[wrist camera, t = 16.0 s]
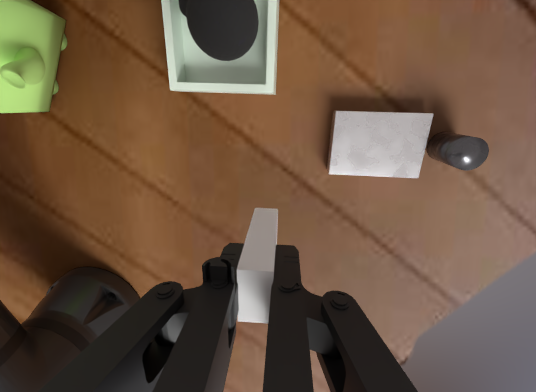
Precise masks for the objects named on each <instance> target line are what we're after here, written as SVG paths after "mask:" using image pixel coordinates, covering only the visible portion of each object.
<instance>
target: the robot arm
mask: <svg viewBox="0 0 536 392" xmlns="http://www.w3.org/2000/svg"><path fill="white" fill-rule="evenodd" d="M277 223H278V209H270V208H255V210H254V213H253V217H252V220H251V223H250V227H249V230H248V233H247V237H246V240H245V243H244V244H240V243H229V244H228V245H227V246H226V247H224V249H223V251H222V253H221V256H220V257H215V258H212V259H209V260H207V261H206V262H205V263H204V264H203V265H202V271H203V284H202V285H201V286H199V287H195V288H191V289H185V290H183V287H182V286H181V284H179V283H177V282H172V281H169V282H163V283H160V284H158V285H156V286H155V287H153V288H152V289H150V290H149V291H148V292H147V293H146V294H145V295H144V296H143V297H142V298H141V299H140V298H139V297H138V295H137V294H136V292H135V291H134V290H133V288H132V287H131V286H130V285H129V284H128V283H126V282H125V281H124V280H123V279H121V278H120V277H118V276H117V275H115V274H113V273H111V272H108V271H106V270H103V269H99V268H94V267H80V268H76V269H73V270H71V271H69V272H67V273H66V274H65V275H63V276H62V277H61V278H59V279H58V280H57V281H56V282H54V283H53V285H52V286H51V287H50V288H49V290H48V292H47V294H46V296H45V297H44V298H43V299H42V301H41V302H40V303H39V304H38V305H37V307H36V308H35V309H34V311H33V312H32V313H31V315H30V316H29V317H28V319H26V320H25V321H24V322H23V323H22V324H20V323H19V322H18V320H17V319H16V318H15V317H14V316H13V315H12V313H11V312H10V311H9V310H8V309H7V308H6V306H5V305H4V304H3V303H2V302H1V300H0V392H223V390H224V385H225V381H226V376H227V371H228V367H229V362H230V357H231V353H232V348H233V344H234V339H235V334H236V320H237V315H238V321H241V322H255V323H268V334H267V346H266V358H265V370H264V383H263V392H314V391H313V380H312V370H311V360H310V350H313V351H316V353H317V357H318V360H319V362H320V365H321V368H322V370H323V373H324V375H325V378H326V381H327V383H328V386H329V389H330V391H331V392H418V391H417V390H416V388H415V387H414V385H413V384H412V383H411V381H410V379H409V378H408V377H407V375H406V374H405V372H404V371H403V370H402V368H401V366H400V365H399V363H398V362H397V360H396V359H395V358H394V356H393V355H392V353H391V352H390V350H389V349H388V347H387V346H386V344H385V343H384V341H383V340H382V339H381V337H380V336H379V334H378V333H377V331H376V330H375V328H374V327H373V325H372V324H371V322H370V321H369V320H368V318H367V317H366V315H365V314H364V312H363V311H362V309H361V308H360V306H359V305H358V303H357V302H356V301H355V300H354V299H353V297H352V296H350V295H348V294H347V293H344V292H341V291H330V292H327V293H325V294H324V295H323V297H321V296H318V295H315V294H312V293H310V292H309V291H307V290H306V289H305V288H304V287H303V285H302V283H301V274H300V263H299V252H298V250H297V249H296V247H295V246H291V245H277Z"/></svg>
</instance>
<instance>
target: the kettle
mask: <svg viewBox="0 0 536 392" xmlns="http://www.w3.org/2000/svg"><path fill="white" fill-rule="evenodd" d="M65 25H66V20H65V19H63V18H61V17H59V16H58V15H56V14H54V13H52V12H51V11H49V10H47V9H45V8H44V7H42V6H40V5H38V4H36V3H35V2H33V1H31V0H0V113H20V112H50V107H51V102H52V96H53V95H54V94H56V93H57V92H58V89H59V87H58V83H57V81H56V74H57V69H58V64H59V58H60V53H61V50H63V49H65V48H66V46H67V38H66V36H65V34H64V30H65Z"/></svg>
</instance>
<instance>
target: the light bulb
mask: <svg viewBox="0 0 536 392" xmlns="http://www.w3.org/2000/svg"><path fill="white" fill-rule="evenodd" d="M179 8H180V11H181V13H182V14H183V15H184V16H186V18H187V24H188V28H189V31H190V34H191V36H192V38H193V40H194V41H195V43H196V44H197V46H198V47H199V48H200V49H201V50H202V51H203V52H204V53H206V54H207V55H208V56H210V57H212V58H214V59H217V60H220V61H231V60H236V59H238V58H240V57H242V56H243V55H244V54H246V53H247V52H248V51H249V50H250V48H251V47H252V45H253V44H254V41H255V39H256V36H257V32H258V25H259V18H258V11H257V7H256V4H255V1H254V0H179Z"/></svg>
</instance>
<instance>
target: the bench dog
mask: <svg viewBox="0 0 536 392" xmlns="http://www.w3.org/2000/svg"><path fill="white" fill-rule="evenodd" d="M427 153H428V155H429V156H430V157H431V158H433V159H435V160H438V161H440V162H443V163H445V164H448V165H451V166H453V167H456V168H458V169H461V170H472V169H475V168H477V167H479V166H480V165H481V164H482V163H483V162H484V161H485V160H486V158H487V156H488V153H489V148H488V145H487V143H486V142H485V141H484V140H483V139H481V138H476V137H471V136H465V135H460V134H455V133H449V132H441V133H438V134H436V135H434V136H433V137H432V138H431V139H430V141H429V142H428V145H427Z"/></svg>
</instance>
